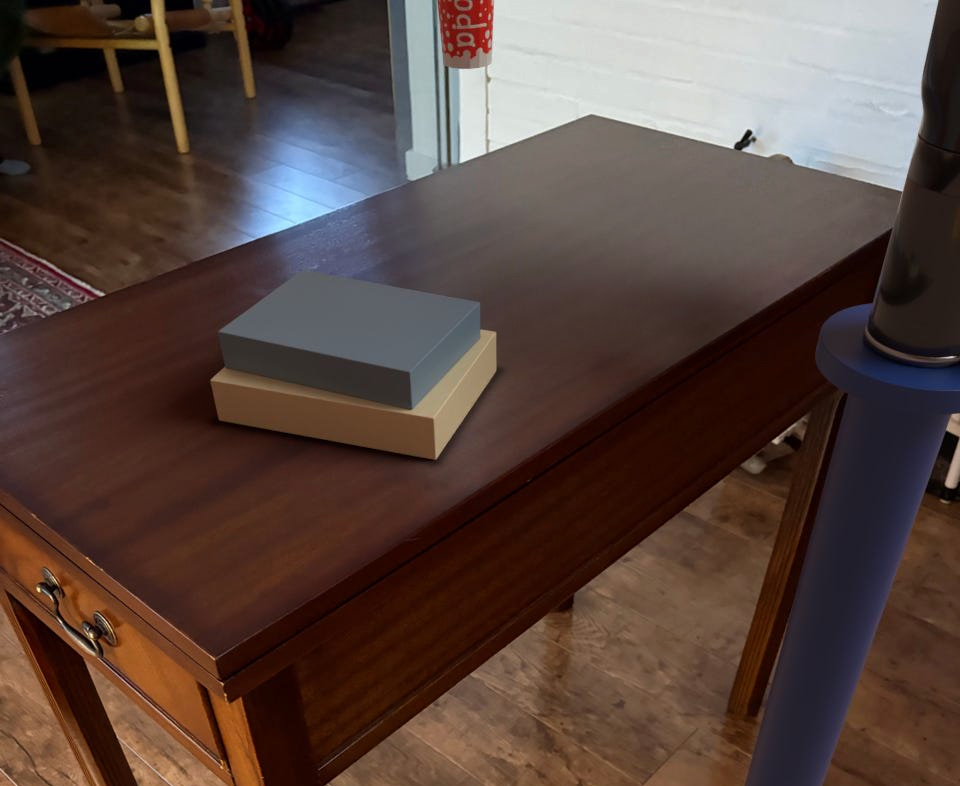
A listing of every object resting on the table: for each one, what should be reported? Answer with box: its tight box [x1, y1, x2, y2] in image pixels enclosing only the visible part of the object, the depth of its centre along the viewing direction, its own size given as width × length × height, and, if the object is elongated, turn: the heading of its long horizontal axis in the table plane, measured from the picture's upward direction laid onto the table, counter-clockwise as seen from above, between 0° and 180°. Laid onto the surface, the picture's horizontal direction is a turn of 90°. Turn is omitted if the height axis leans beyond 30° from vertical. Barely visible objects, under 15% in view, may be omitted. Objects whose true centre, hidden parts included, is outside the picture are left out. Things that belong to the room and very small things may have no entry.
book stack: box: [209, 269, 497, 461], centre depth 78 cm, size 18×14×6 cm
